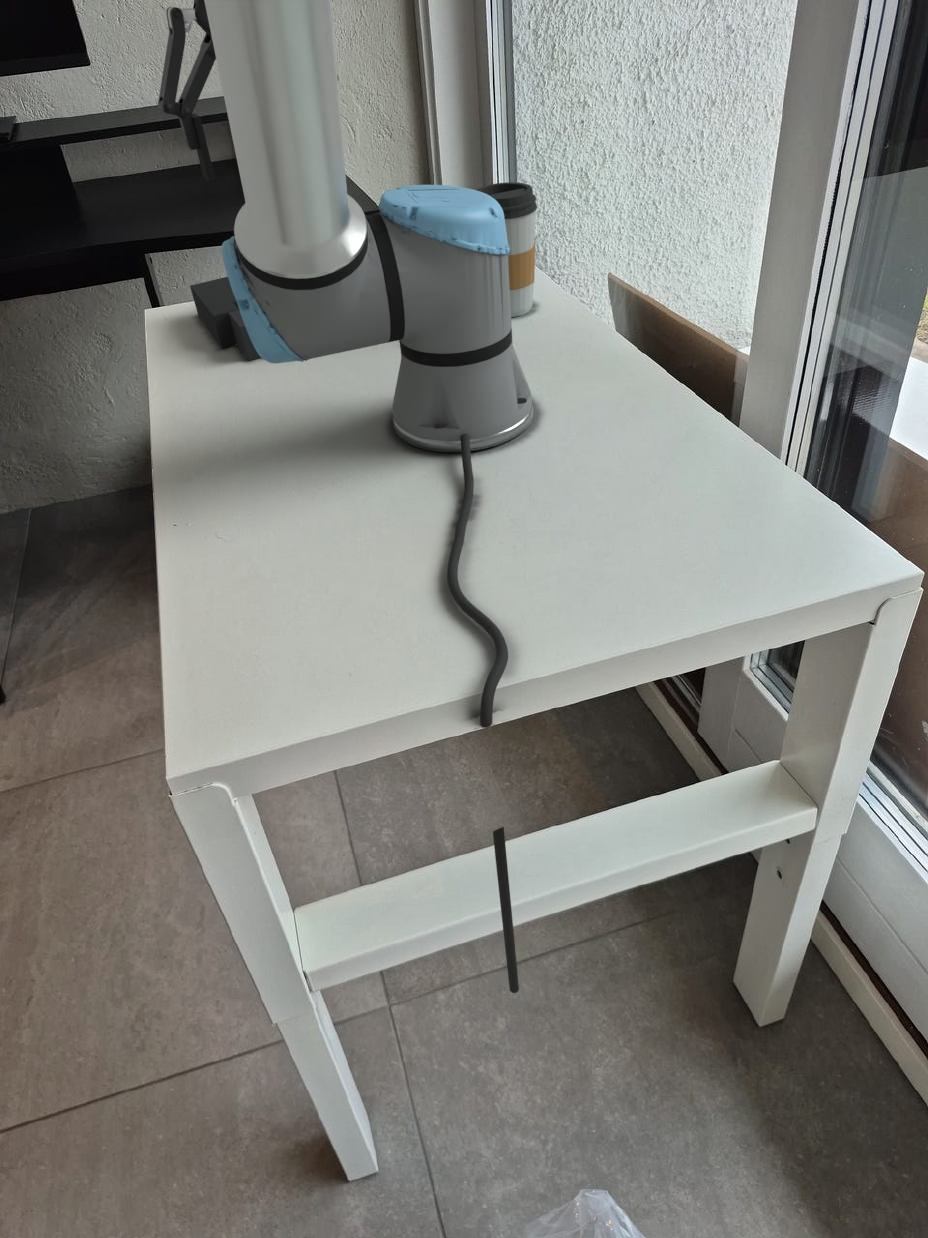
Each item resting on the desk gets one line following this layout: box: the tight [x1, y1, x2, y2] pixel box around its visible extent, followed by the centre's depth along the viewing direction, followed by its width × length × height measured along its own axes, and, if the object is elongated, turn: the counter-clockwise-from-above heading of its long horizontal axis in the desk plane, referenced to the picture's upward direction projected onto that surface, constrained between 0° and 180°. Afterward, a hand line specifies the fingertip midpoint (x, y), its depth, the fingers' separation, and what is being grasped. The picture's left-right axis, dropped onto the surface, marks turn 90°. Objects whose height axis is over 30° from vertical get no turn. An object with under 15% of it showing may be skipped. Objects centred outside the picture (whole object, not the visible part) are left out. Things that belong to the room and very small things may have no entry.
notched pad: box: [189, 276, 240, 349], centre depth 125 cm, size 14×12×4 cm
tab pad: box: [229, 310, 262, 362], centre depth 119 cm, size 9×8×4 cm
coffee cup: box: [475, 181, 538, 318], centre depth 117 cm, size 8×8×15 cm
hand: (266, 168), depth 105 cm, fingers open, 13 cm apart
